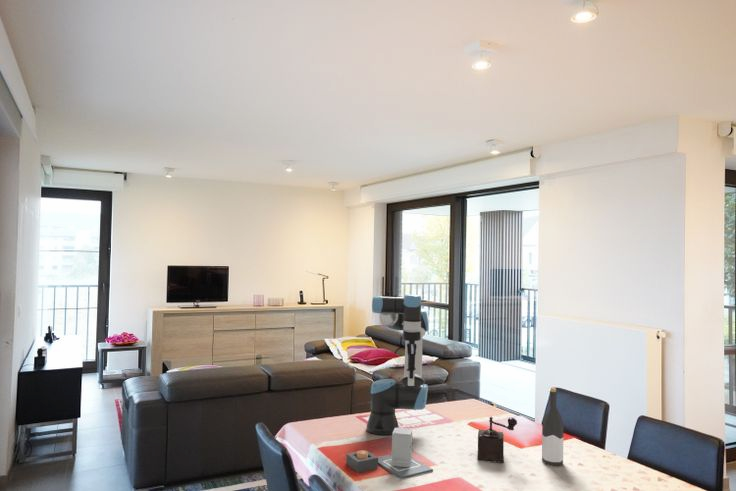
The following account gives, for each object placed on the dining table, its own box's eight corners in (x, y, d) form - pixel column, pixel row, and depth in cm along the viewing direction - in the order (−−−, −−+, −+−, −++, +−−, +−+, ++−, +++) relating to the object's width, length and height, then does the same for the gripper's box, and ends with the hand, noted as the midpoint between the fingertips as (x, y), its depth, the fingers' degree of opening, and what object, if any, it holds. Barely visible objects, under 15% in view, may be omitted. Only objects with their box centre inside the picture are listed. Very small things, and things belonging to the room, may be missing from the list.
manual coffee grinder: (477, 461, 209) (477, 416, 209) (477, 451, 220) (478, 408, 220) (516, 465, 205) (517, 419, 206) (515, 455, 216) (516, 412, 216)
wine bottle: (562, 460, 212) (563, 386, 212) (563, 467, 204) (564, 391, 205) (542, 457, 214) (542, 384, 215) (541, 464, 207) (542, 389, 207)
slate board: (372, 460, 207) (372, 458, 207) (402, 453, 215) (402, 451, 215) (400, 479, 190) (400, 476, 190) (432, 471, 198) (432, 468, 198)
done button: (354, 462, 202) (354, 451, 202) (364, 459, 204) (364, 449, 204) (360, 466, 198) (360, 455, 198) (369, 463, 201) (370, 453, 201)
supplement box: (410, 467, 198) (410, 434, 199) (390, 465, 200) (391, 432, 200) (412, 460, 206) (412, 428, 206) (393, 458, 207) (394, 426, 207)
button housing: (346, 464, 203) (346, 453, 203) (366, 460, 208) (366, 449, 208) (357, 472, 195) (357, 461, 195) (377, 468, 200) (378, 457, 200)
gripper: (402, 328, 230) (401, 381, 230) (403, 332, 217) (402, 389, 217) (419, 328, 230) (418, 381, 230) (421, 333, 217) (420, 389, 217)
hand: (410, 385), depth 223 cm, fingers closed
